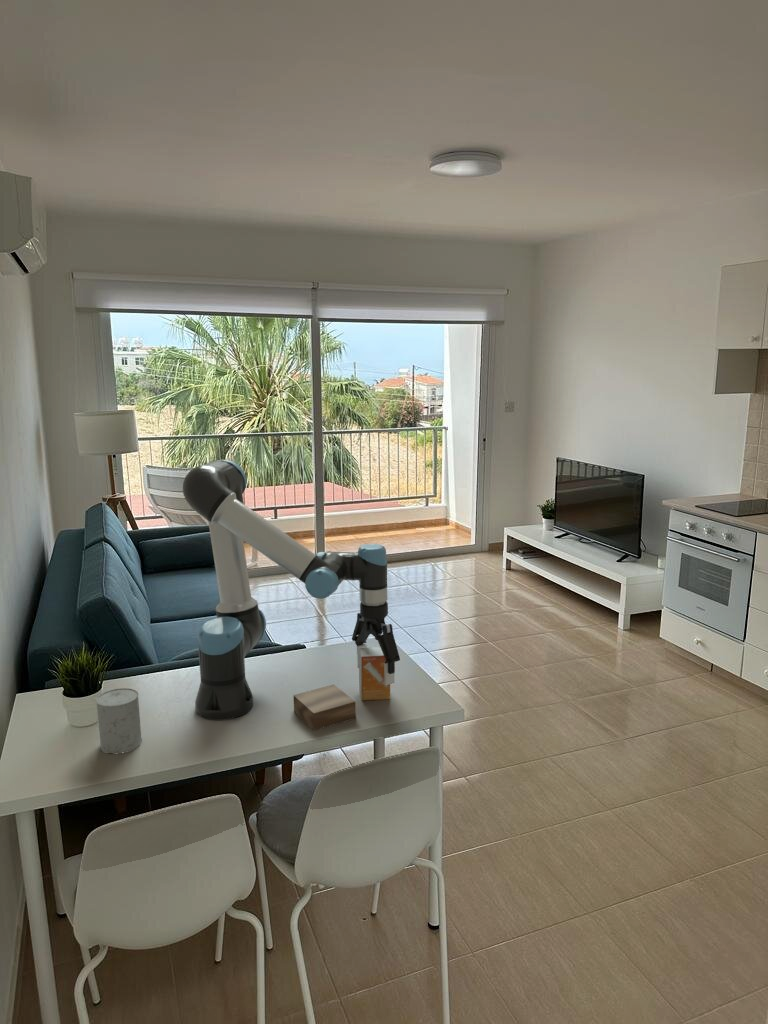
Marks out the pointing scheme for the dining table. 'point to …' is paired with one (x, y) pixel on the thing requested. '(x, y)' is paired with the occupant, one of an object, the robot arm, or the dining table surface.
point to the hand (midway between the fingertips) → (375, 675)
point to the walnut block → (324, 707)
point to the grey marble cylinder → (119, 720)
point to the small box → (372, 674)
